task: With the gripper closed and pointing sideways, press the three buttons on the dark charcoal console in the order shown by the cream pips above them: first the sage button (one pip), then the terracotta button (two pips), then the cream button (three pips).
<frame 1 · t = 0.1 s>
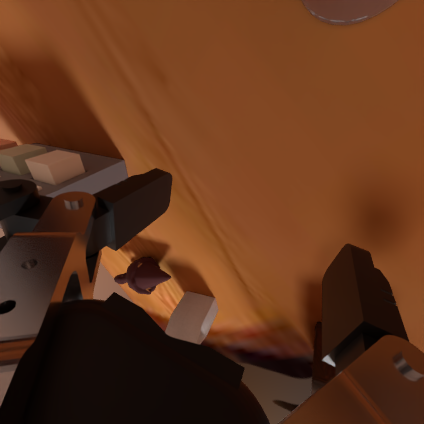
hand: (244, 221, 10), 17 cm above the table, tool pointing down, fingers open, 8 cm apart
icecream: (155, 263, 47), on the table
button sage: (27, 164, 33), point 8 cm above the table, slide at 0.0 cm
console: (82, 172, 41), on the table
button cream: (59, 172, 30), point 8 cm above the table, slide at 0.0 cm
dark brown coffee grinder: (353, 338, 35), on the table
pale pink rectangular block: (202, 299, 47), on the table
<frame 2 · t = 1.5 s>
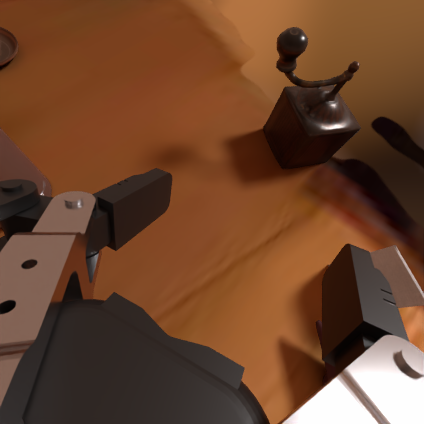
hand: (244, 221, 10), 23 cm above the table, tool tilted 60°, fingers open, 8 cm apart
dark brown coffee grinder: (281, 146, 44), on the table
pale pink rectangular block: (346, 283, 34), on the table
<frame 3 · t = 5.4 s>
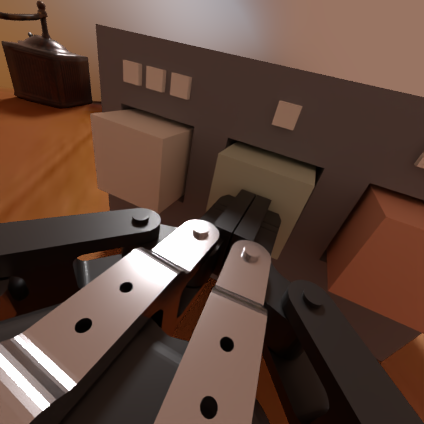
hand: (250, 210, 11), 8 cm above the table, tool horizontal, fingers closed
button sage: (259, 192, 13), point 8 cm above the table, slide at 0.6 cm, touching gripper
console: (241, 253, 20), on the table
button cream: (151, 156, 14), point 8 cm above the table, slide at 0.0 cm
button terracotta: (395, 248, 11), point 8 cm above the table, slide at 0.0 cm
dark brown coffee grinder: (46, 102, 47), on the table
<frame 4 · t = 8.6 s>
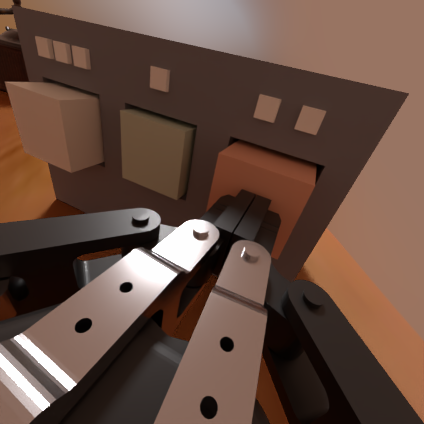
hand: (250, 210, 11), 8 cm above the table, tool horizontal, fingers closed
button sage: (169, 149, 15), point 8 cm above the table, slide at 1.8 cm
console: (176, 221, 22), on the table
button cream: (72, 124, 16), point 8 cm above the table, slide at 0.0 cm
button terracotta: (260, 192, 13), point 8 cm above the table, slide at 0.3 cm, touching gripper
dark brown coffee grinder: (25, 94, 49), on the table
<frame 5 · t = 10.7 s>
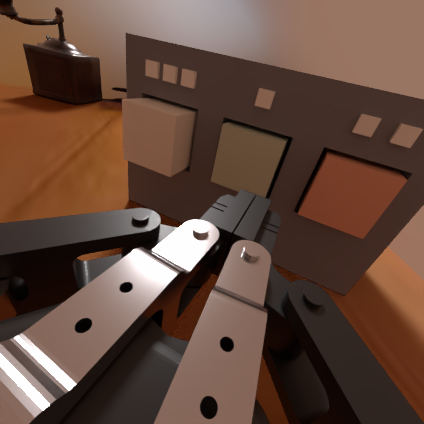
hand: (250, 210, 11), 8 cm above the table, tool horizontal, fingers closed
button sage: (251, 156, 18), point 8 cm above the table, slide at 1.8 cm
console: (236, 221, 24), on the table
button cream: (164, 134, 18), point 8 cm above the table, slide at 0.0 cm
button terracotta: (343, 187, 16), point 8 cm above the table, slide at 1.8 cm
dark brown coffee grinder: (61, 99, 51), on the table
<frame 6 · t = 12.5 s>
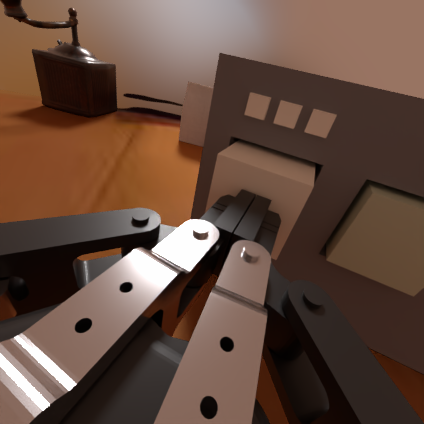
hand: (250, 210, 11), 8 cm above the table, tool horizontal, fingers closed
button sage: (383, 224, 12), point 8 cm above the table, slide at 1.8 cm
console: (318, 283, 19), on the table
button cream: (259, 192, 13), point 8 cm above the table, slide at 0.0 cm, touching gripper
dark brown coffee grinder: (73, 110, 46), on the table
pale pink rectangular block: (197, 143, 44), on the table
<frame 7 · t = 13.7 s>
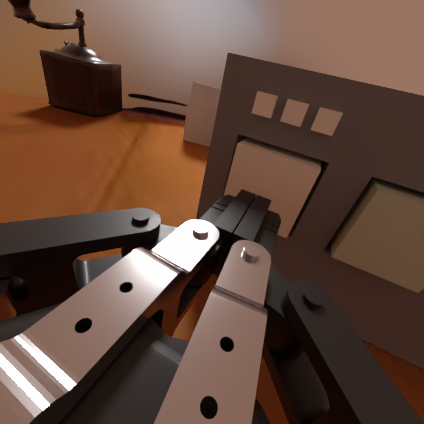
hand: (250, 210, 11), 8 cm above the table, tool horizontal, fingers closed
button sage: (388, 222, 13), point 8 cm above the table, slide at 1.8 cm
console: (323, 281, 19), on the table
button cream: (270, 180, 14), point 8 cm above the table, slide at 1.8 cm
dark brown coffee grinder: (79, 110, 47), on the table
pale pink rectangular block: (201, 143, 45), on the table
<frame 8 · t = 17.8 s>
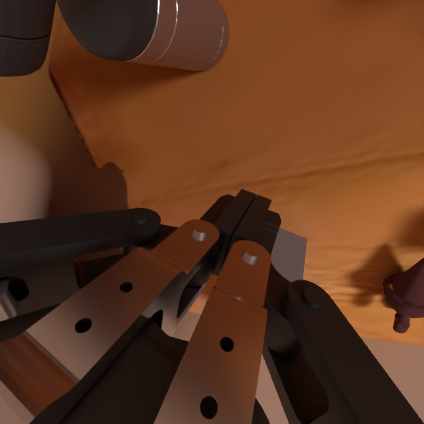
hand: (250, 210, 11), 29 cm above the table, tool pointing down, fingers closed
icecream: (403, 278, 38), on the table
console: (267, 268, 49), on the table
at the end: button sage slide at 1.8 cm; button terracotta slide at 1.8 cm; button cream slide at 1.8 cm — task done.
